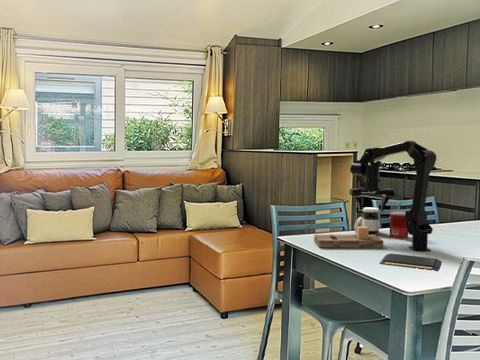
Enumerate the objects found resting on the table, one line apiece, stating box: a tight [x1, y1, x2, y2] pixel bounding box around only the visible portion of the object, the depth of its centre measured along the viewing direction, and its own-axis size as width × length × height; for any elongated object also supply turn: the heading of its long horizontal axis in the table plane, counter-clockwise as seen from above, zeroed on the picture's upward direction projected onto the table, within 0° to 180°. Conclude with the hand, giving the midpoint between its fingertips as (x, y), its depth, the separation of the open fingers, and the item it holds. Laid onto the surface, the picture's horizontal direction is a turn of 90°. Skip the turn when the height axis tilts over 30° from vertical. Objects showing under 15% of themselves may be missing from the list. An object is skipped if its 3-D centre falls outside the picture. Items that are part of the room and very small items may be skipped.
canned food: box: [389, 210, 409, 239], centre depth 213 cm, size 8×8×11 cm
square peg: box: [355, 226, 369, 239], centre depth 197 cm, size 4×4×7 cm
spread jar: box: [353, 206, 380, 235], centre depth 223 cm, size 12×11×12 cm
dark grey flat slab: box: [378, 252, 443, 272], centre depth 170 cm, size 20×2×15 cm
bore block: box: [313, 234, 384, 249], centre depth 197 cm, size 12×26×3 cm, turn 91°
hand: (371, 211), depth 209 cm, fingers open, 9 cm apart
